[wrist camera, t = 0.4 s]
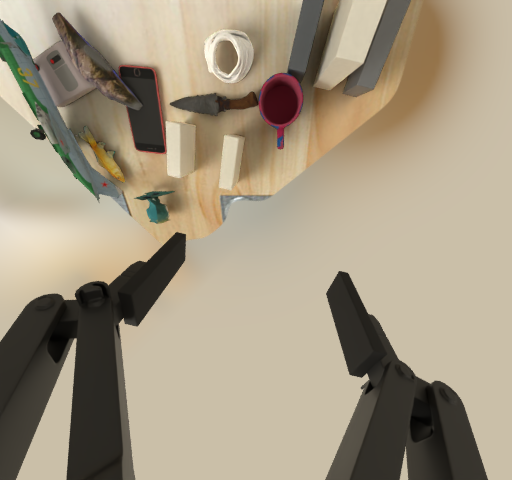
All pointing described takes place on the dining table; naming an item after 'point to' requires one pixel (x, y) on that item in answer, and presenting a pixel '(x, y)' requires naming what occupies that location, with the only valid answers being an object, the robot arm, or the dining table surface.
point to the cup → (280, 103)
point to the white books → (183, 153)
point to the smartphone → (145, 109)
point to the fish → (103, 155)
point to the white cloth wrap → (242, 49)
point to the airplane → (49, 113)
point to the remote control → (61, 75)
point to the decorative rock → (94, 65)
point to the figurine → (156, 206)
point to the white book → (348, 40)
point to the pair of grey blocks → (376, 55)
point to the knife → (214, 103)
